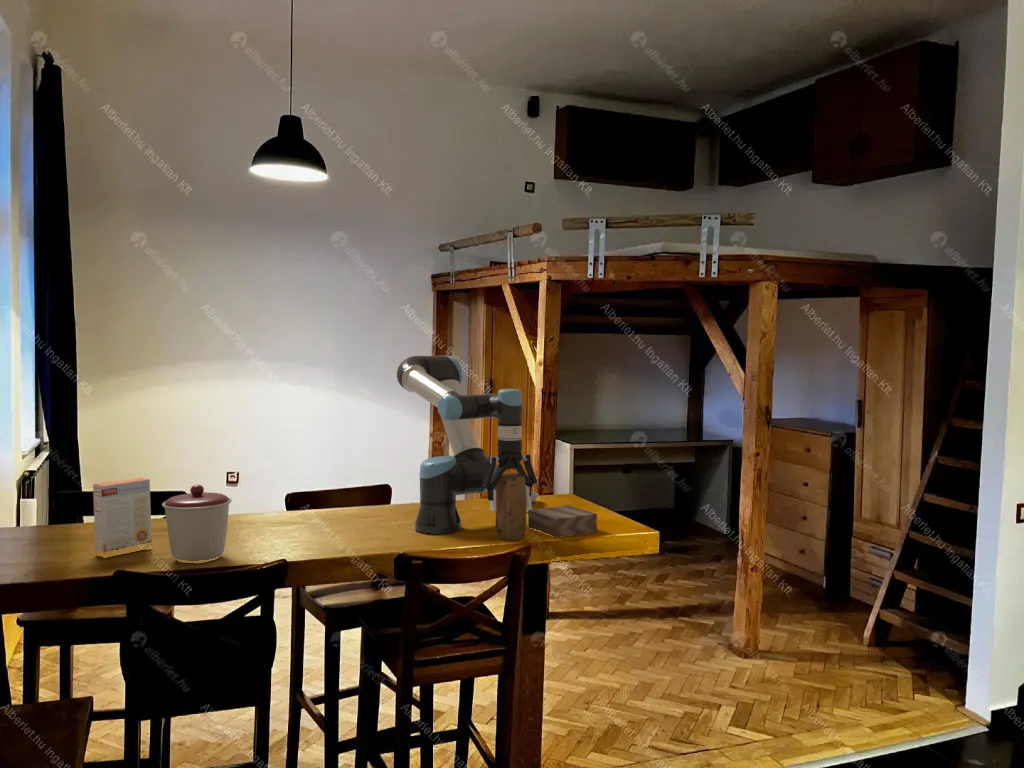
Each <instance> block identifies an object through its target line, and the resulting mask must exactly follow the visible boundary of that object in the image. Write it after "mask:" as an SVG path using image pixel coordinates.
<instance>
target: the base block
mask: <svg viewBox="0 0 1024 768" xmlns="http://www.w3.org/2000/svg"><path fill="white" fill-rule="evenodd" d="M527 513H528V514H527V519H528V521H527V522H528V524H527V528H528V527H529V528H533V529H536V530H540V531H542V532H544V533H547V534H550V535H552V536H554V537H561V536H568V537H570V536H569V535H575V536H578V535H577V534H581V535H587V533H588V534H594V532H595V533H597V532H598V513H595V512H594V511H593V512H592V511H591V510H590V511H589V510H585V509H582V508H579V507H576V506H572V505H569V504H567V505H560V506H559V505H558V506H551V507H544V508H535V509H532V510H528V512H527ZM529 528H528V529H529ZM554 537H553V538H554ZM561 538H562V537H561Z"/></svg>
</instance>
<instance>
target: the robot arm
mask: <svg viewBox="0 0 1024 768" xmlns="http://www.w3.org/2000/svg"><path fill="white" fill-rule="evenodd" d="M462 369H463V368H462V366H461V364H460V362H459V361H458V359H457V358H455V357H454V356H451V355H443V354H441V355H413V356H409V357H407V358H405V359H403V360H402V361H401V362H400V364H399V365H398V367H397V371H396V379H397V382H398V384H399V386H400V387H402V388H403V389H404V390H405V391H408V392H409V393H410V392H411V393H415V394H416V395H418V396H420V397H421V398H423V399H424V400H426V401H427V402H428V403H430V404H432V405H433V406H434V407H436V408H437V412H438V415H439V417H440V418H441V421H442V425H443V427H444V430H445V434H446V436H447V439H448V442H449V445H450V447H451V451H452V453H453V455H442V456H440V455H439V456H433V457H430V458H426V459H425V460H423V461H422V462H421V464H420V468H419V475H418V476H419V509H418V511H417V514H416V518H415V521H414V531H415V532H417V531H419V532H418V533H420V532H423V533H422V534H426V533H431V534H430V535H445V534H451V533H456V532H459V531H461V529H462V520H461V517H460V514H459V511H458V508H457V499H456V498H457V496H461V495H472V494H481V493H484V492H485V493H486V492H487V500H488V501H489V510H490V511H491V512H494V513H496V512H495V511H496V490H495V486H496V484H497V483H498V481H499V479H500V477H501V476H502V474H504V472H505V473H506V470H511V469H512V470H516V472H517V474H520V475H521V476H524V478H525V484H526V507H529V496H531V491H532V487H534V485H535V484H537V483H538V480H537V477H536V473H535V471H534V469H533V468H534V467H533V465H532V462H531V454H529V453H523V454H522V450H523V441H522V437H523V436H522V435H523V424H522V423H523V397H522V396H523V395H522V391H521V390H520V389H516V388H515V389H514V388H504V389H503V388H502V389H499V390H498V392H497V393H496V394H495V393H482V394H460V392H459V389H460V388H461V387H460V386H461V383H462V381H463V375H462V373H463V370H462ZM491 418H492V419H493V418H494V419H497V438H498V440H497V456H486V453H485V450H484V449H483V448H482V447H480V446H478V443H477V441H476V439H475V435H474V432H473V429H472V426H471V424H470V422H469V420H472V419H475V420H476V419H491ZM521 461H522V462H523V465H524V468H525V470H524V468H523V465H522V464H521Z"/></svg>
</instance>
